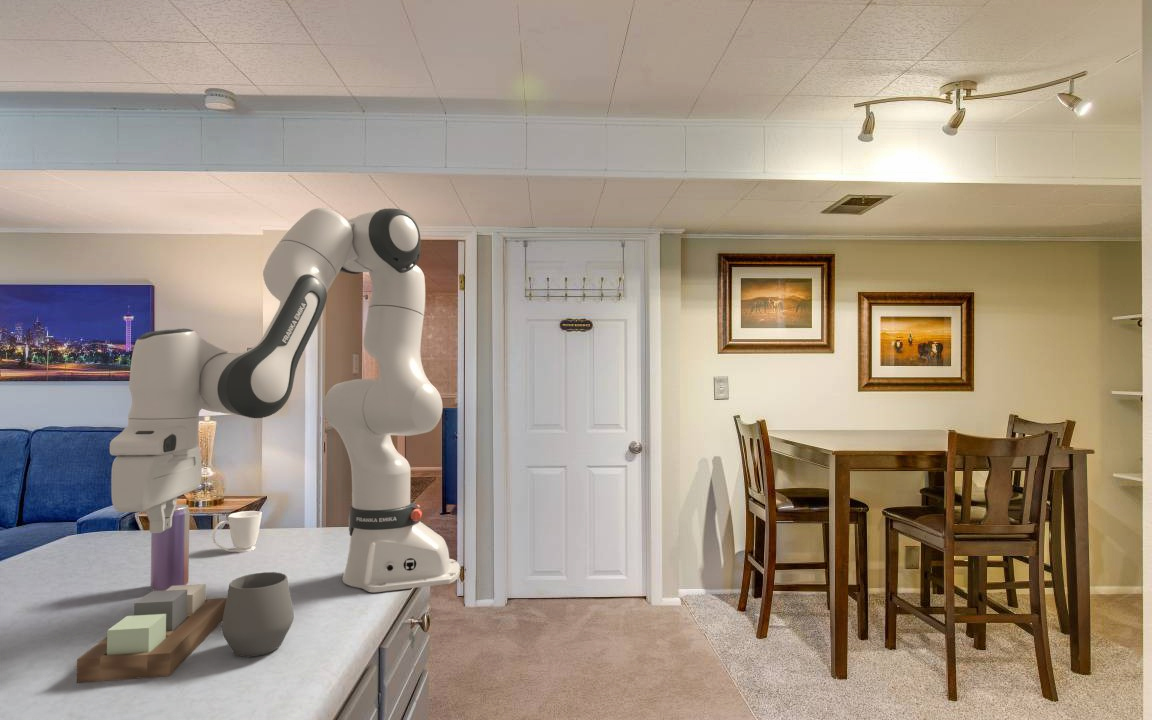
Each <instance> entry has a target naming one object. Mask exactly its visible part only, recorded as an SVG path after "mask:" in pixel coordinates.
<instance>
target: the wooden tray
mask: <svg viewBox="0 0 1152 720" xmlns="http://www.w3.org/2000/svg"><path fill="white" fill-rule="evenodd" d="M226 599H227V597H217V598H216V597H215V598H205V603H204V604H203V605H202V606H201V607H200V608H199V609H198V610H196V611H195V612H194V613H187V619H186V620H185V621H184V622H183V623H181V624H180V625H179V626H178V627H177V628H176V629H175V630H174V631H168V632H166V638H165V639H164V640H163V641H162V642H161V643H160V644H159V645H158V646H156V647H155V648H154V649H153V650H152V651H151V652H147V653H132V654H117V655H107V636H105V638H104V639H102V640H100V642H98V643H97V644H95V645H94V646H93V647H92V648H90V649H89V650H87V651H86V652H84V653H83V654H82V655H81V656H79V657H78V658H77V659H76V683H89V682H90V683H91V682H103V681H104V682H105V681H117V680H131V679H143V678H144V679H145V678H160V677H170V676H171V675H172V673H174V672H175V671H176V670H177V668H178V667H180V665H181V664H183V663H184V661H186V659H187V658H188V657H189V656H190V655H191V654H192V653H193V652H194V651H195V650H196V649H197V648H198V647H199V646H200V645H201V644H202V643H203V642H204V640H205V639H206V638H207V637H208V636H210V634H211V633H212V632H213V631H214V630H216V628H217V627H218V626H219V625H221V624H222V619H223V614H224V609H225V604H226Z"/></svg>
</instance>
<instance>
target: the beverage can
mask: <svg viewBox="0 0 1152 720" xmlns="http://www.w3.org/2000/svg"><path fill="white" fill-rule="evenodd" d="M190 513H191V512H190V509H189V505H188V504H185V503H177V504H176V507H175V510H174V513H173V516H172V526H171V528H169V529H167V530H165V531H163V532H161V533H151V532H150V534H151V536H150V537H151V538H150V539H151V542H150V543H151V544H150V547H151V548H150V550H151V551H150V589H151V590H152V591H166V590H167V589H168V588H170V587H171V586H177V585H188V583H189V580H190V579H189V575H190V573H189V568H190V567H189V566H190V564H189V563H190V562H189V561H190Z"/></svg>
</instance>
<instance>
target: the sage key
mask: <svg viewBox="0 0 1152 720" xmlns="http://www.w3.org/2000/svg"><path fill="white" fill-rule="evenodd" d="M106 632H107V633H106V634H107V636H106V637H107V655H117V654H132V653H147V652H151V651H152V650H153V649H154V648H155V647H156V646H158V645H159V644H160V643H161V642H162V641H163V640H164V639H165V638H166V614H154V615H137V616H134V615H127V616H125V617H124V618H122V619H121V620H120V621H118V622H116V624H114V625H112V626H111V627H110V628H109V629H107V630H106Z"/></svg>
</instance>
